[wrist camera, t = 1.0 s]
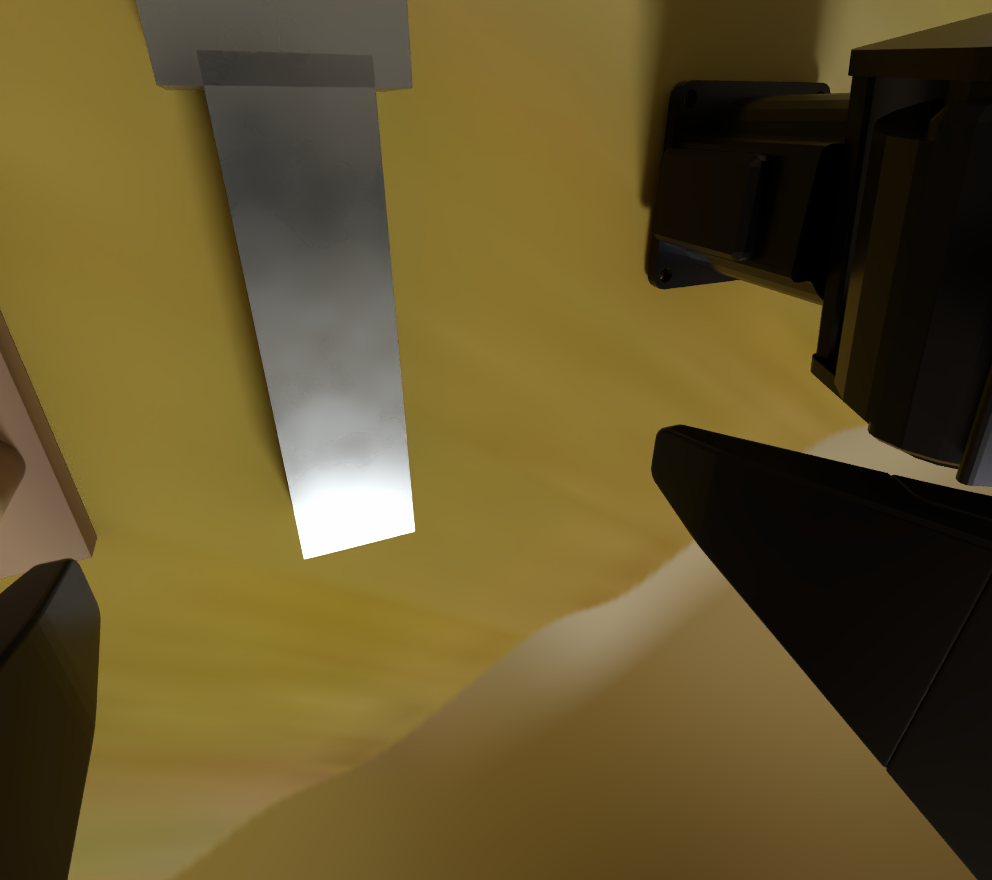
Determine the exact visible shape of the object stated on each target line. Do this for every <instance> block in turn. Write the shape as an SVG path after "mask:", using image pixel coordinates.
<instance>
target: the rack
mask: <svg viewBox="0 0 992 880" xmlns="http://www.w3.org/2000/svg"><path fill="white" fill-rule="evenodd" d="M96 540H97V536H96V534H95V532H94V529H93V527H92V525H91V522H90V520H89V518H88V515H87V513H86V511H85V508H84V506H83V503H82V501H81V499H80V496H79V494H78V492H77V489H76V487H75V485H74V482H73V480H72V478H71V475H70V473H69V471H68V468H67V466H66V464H65V461H64V459H63V457H62V454H61V452H60V450H59V447H58V445H57V443H56V440H55V438H54V436H53V433H52V431H51V429H50V426H49V424H48V422H47V419H46V417H45V415H44V412H43V410H42V408H41V405H40V403H39V401H38V398H37V396H36V393H35V391H34V389H33V386H32V384H31V382H30V379H29V377H28V375H27V372H26V370H25V368H24V365H23V363H22V361H21V358H20V356H19V354H18V351H17V349H16V347H15V344H14V342H13V340H12V337H11V335H10V333H9V330H8V328H7V326H6V323H5V321H4V319H3V316H2V314H1V312H0V578H3V577H8V576H12V575H17V574H21V573H25V572H27V571H28V570H30V569H31V568H32V567H34V566H36V565H38V564H42V563H47V562H51V561H56V560H61V559H65V558H72V559H74V560H76V561H79V560H84V559H88V558H92V554H93V551H94V547H95V544H96Z"/></svg>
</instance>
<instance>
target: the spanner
mask: <svg viewBox="0 0 992 880" xmlns="http://www.w3.org/2000/svg"><path fill="white" fill-rule="evenodd" d="M136 3H137V7H138V12H139V16H140V20H141V24H142V28H143V32H144V36H145V40H146V44H147V48H148V52H149V56H150V60H151V64H152V68H153V73H154V77H155V81H156V85H158V86H160V87H162V88H164V89H166V90H205V95H206V99H207V104H208V109H209V113H210V118H211V123H212V127H213V132H214V137H215V142H216V146H217V151H218V156H219V160H220V165H221V170H222V175H223V179H224V184H225V189H226V193H227V198H228V203H229V208H230V212H231V217H232V222H233V226H234V231H235V236H236V241H237V245H238V250H239V255H240V259H241V264H242V269H243V274H244V278H245V283H246V288H247V292H248V297H249V302H250V306H251V311H252V316H253V321H254V325H255V330H256V335H257V339H258V344H259V349H260V354H261V358H262V363H263V368H264V372H265V377H266V382H267V387H268V391H269V396H270V401H271V405H272V410H273V415H274V420H275V424H276V429H277V434H278V438H279V443H280V448H281V453H282V457H283V462H284V467H285V471H286V476H287V481H288V485H289V490H290V495H291V500H292V504H293V509H294V514H295V518H296V523H297V528H298V533H299V537H300V542H301V547H302V551H303V556H304V559H307V558H311V557H315V556H319V555H323V554H327V553H331V552H335V551H339V550H343V549H347V548H351V547H355V546H359V545H363V544H367V543H371V542H375V541H379V540H383V539H387V538H391V537H394V536H398V535H402V534H406V533H410V532H414V531H415V527H414V515H413V504H412V493H411V482H410V471H409V459H408V448H407V437H406V426H405V414H404V403H403V392H402V381H401V370H400V358H399V347H398V336H397V325H396V313H395V302H394V291H393V280H392V269H391V257H390V246H389V235H388V224H387V212H386V201H385V190H384V179H383V168H382V156H381V145H380V134H379V123H378V111H377V100H376V92H386V91H393V90H401V89H409V88H412V72H411V56H410V40H409V24H408V8H407V0H136Z"/></svg>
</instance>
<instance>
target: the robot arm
mask: <svg viewBox="0 0 992 880" xmlns="http://www.w3.org/2000/svg"><path fill="white" fill-rule="evenodd" d="M848 75H849V76H852V84H851V91H850V93H832V94H831V93H830V88H829V86H828V85H827V84H825V83H803V82H753V81H703V80H691V81H683V82H680V83H678V84H677V85H676V86H675V87H674V89H673V91H672V92H671V96H670V101H669V109H668V117H667V125H666V133H665V141H664V149H663V156H662V162H661V170H660V178H659V186H658V194H657V203H656V211H655V219H654V227H653V238H652V246H651V254H650V263H649V271H648V280H649V282H650V284H651V285H653V286H654V287H657V288H659V289H670V288H678V287H686V286H694V285H702V284H710V283H718V282H726V281H734V280H743V281H746V282H749V283H752V284H755V285H759V286H762V287H765V288H768V289H771V290H774V291H778V292H781V293H784V294H787V295H790V296H793V297H796V298H800V299H803V300H806V301H809V302H812V303H815V304H819V305H822V313H821V321H820V329H819V336H818V344H817V351H816V353H815V354H813V356H812V363H811V373H812V374H813V375H815V376H816V377H817V378H818V379H819V380H820V381H821V382H822V383H823V384H825V385H826V386H827V387H828V388H829V389H830V390H831V391H832V392H834V393H835V394H836V395H837V396H838V397H839V398H840V399H841V400H842V401H843V402H845V403H846V404H847V405H848V406H849V407H850V408H851V409H852V410H854V411H855V412H856V413H857V414H858V415H859V416H860V417H861V418H862V419H864V420H865V421H866V422H867V423H868V424H869V425H868V432H869V433H870V434H871V435H872V436H873V437H875V438H876V439H877V440H879V441H881V442H883V443H885V444H887V445H890V446H892V447H894V448H896V449H899V450H901V451H903V452H905V453H907V454H909V455H911V456H913V457H915V458H918V459H921V460H924V461H927V462H930V463H933V464H936V465H940V466H944V467H949V468H954V469H958V471H957V475H956V479H957V481H958V482H960V483H962V484H965V485H970V486H989V487H992V13H988V14H984V15H980V16H976V17H972V18H969V19H965V20H961V21H957V22H953V23H950V24H946V25H942V26H938V27H934V28H931V29H927V30H923V31H919V32H915V33H912V34H908V35H904V36H900V37H896V38H893V39H889V40H885V41H881V42H877V43H874V44H870V45H866V46H862V47H858V48H855V49H852V50H851V57H850V65H849V72H848ZM687 92H688V94H689V101H688V104H687V105H686V106H685V104H684V97H685V94H686V93H687ZM664 269H665V275H664V277H663V278H662V279H660V275H661V272H662V271H663V270H664ZM651 472H652V476H653V479H654V481H655V483H656V484H657V486H658V487H659V489H660V490H661V492H662V493H663V495H664V496H665V498H666V499H667V500H668V502H669V503H670V505H671V506H672V508H673V509H674V511H675V512H676V514H677V515H678V517H679V518H680V520H681V521H682V523H683V524H684V526H685V527H686V528H687V530H688V531H689V533H690V534H691V536H692V537H693V539H694V540H695V541H696V543H697V544H698V545H699V547H700V548H701V549H702V550H703V552H704V553H705V554H706V555H707V556H708V558H709V559H710V560H711V561H712V562H713V564H714V565H715V566H716V567H717V569H718V570H719V571H720V572H721V573H722V574H723V576H724V577H725V578H726V579H727V580H728V582H729V583H730V584H731V585H732V586H733V588H734V589H735V590H736V591H737V592H738V594H739V595H740V596H741V597H742V598H743V600H744V601H745V602H746V603H747V604H748V605H749V607H750V608H751V609H752V610H753V611H754V612H755V614H756V615H757V616H758V617H759V619H760V620H761V621H762V622H763V623H764V625H765V626H766V627H767V628H768V629H769V631H770V632H771V633H772V634H773V635H774V637H775V638H776V639H777V640H778V641H779V642H780V644H781V645H782V646H783V647H784V649H785V650H786V651H787V652H788V653H789V655H790V656H791V657H792V658H793V659H794V660H795V662H796V663H797V664H798V665H799V666H800V668H801V669H802V670H803V671H804V672H805V673H806V675H807V676H808V677H809V678H810V680H811V681H812V682H813V683H814V684H815V686H816V687H817V688H818V689H819V690H820V692H821V693H822V694H823V695H824V696H825V697H826V699H827V700H828V701H829V702H830V704H831V705H832V706H833V707H834V708H835V710H836V711H837V712H838V713H839V714H840V716H841V717H842V718H843V719H844V720H845V721H846V723H847V724H848V725H849V726H850V727H851V729H852V730H853V731H854V732H855V733H856V735H857V736H858V737H859V738H860V739H861V741H862V742H863V743H864V744H865V745H866V747H867V748H868V749H869V750H870V751H871V753H872V754H873V755H874V756H875V757H876V759H877V760H878V761H879V762H880V763H881V764H882V765H883V767H887V768H886V771H887V772H888V773H889V775H890V776H891V777H892V778H893V779H894V781H895V782H896V783H897V784H898V785H899V787H900V788H901V789H902V790H903V791H904V793H905V794H906V795H907V796H908V797H909V799H910V800H911V801H912V802H913V803H914V804H915V806H916V807H917V808H918V809H919V811H920V812H921V813H922V814H923V815H924V817H925V818H926V819H927V820H928V821H929V823H930V824H931V825H932V826H933V827H934V828H935V830H936V831H937V832H938V833H939V835H940V836H941V837H942V838H943V839H944V841H945V842H946V843H947V844H948V845H949V846H950V848H951V849H952V850H953V851H954V852H955V854H956V855H957V856H958V857H959V858H960V860H961V861H962V862H963V863H964V864H965V866H966V867H967V868H968V869H969V870H970V872H971V873H972V874H973V875H974V876H975V878H976V879H977V880H992V496H989V495H984V494H979V493H973V492H969V491H964V490H959V489H954V488H950V487H946V486H941V485H937V484H932V483H928V482H923V481H919V480H915V479H911V478H906V477H902V476H898V475H892V476H891V475H889V474H888V473H884V472H881V471H876V470H872V469H868V468H864V467H859V466H854V465H851V464H847V463H843V462H838V461H834V460H829V459H826V458H821V457H817V456H813V455H808V454H804V453H800V452H796V451H792V450H787V449H783V448H779V447H775V446H771V445H766V444H762V443H758V442H754V441H749V440H745V439H741V438H737V437H732V436H728V435H724V434H720V433H715V432H711V431H707V430H703V429H699V428H694V427H690V426H686V425H674V426H669V427H665V428H662V429H660V430H659V431H658V433H657V435H656V439H655V446H654V452H653V459H652V466H651ZM99 644H100V611H99V607H98V604H97V601H96V599H95V597H94V595H93V593H92V591H91V588H90V586H89V584H88V582H87V580H86V578H85V575H84V573H83V571H82V569H81V567H80V565H79V564H78V563H77V561H76V560H74V559H72V558H65V559H61V560H56V561H51V562H47V563H42V564H38V565H36V566H34V567H32V568H31V569H30V570H28V571H27V572H26V573H25V574H24V575H22V576H21V577H20V578H19V579H17V580H16V581H15V582H14V583H13V584H11V585H10V586H9V587H8V588H7V589H5V590H4V591H3V592H2V593H1V594H0V880H68V874H69V869H70V863H71V858H72V852H73V847H74V842H75V836H76V831H77V825H78V820H79V815H80V809H81V804H82V798H83V793H84V787H85V782H86V777H87V771H88V766H89V760H90V755H91V750H92V744H93V737H94V730H95V720H96V706H97V685H98V664H99Z"/></svg>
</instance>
